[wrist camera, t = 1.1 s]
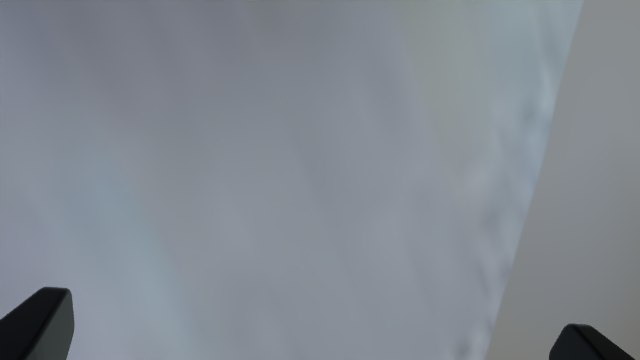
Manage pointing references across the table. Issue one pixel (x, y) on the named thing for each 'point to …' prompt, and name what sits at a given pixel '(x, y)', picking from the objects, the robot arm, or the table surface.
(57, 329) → the robot arm
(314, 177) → the table surface
